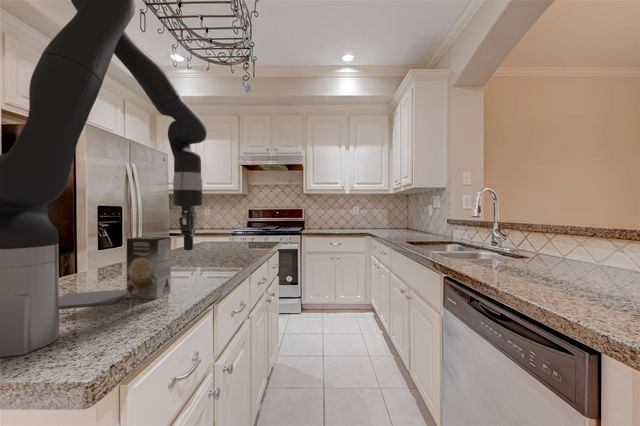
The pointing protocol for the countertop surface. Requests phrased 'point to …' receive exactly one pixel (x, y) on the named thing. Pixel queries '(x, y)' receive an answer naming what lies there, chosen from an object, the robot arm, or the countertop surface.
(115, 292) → the mat
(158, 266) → the coffee box
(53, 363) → the countertop surface
